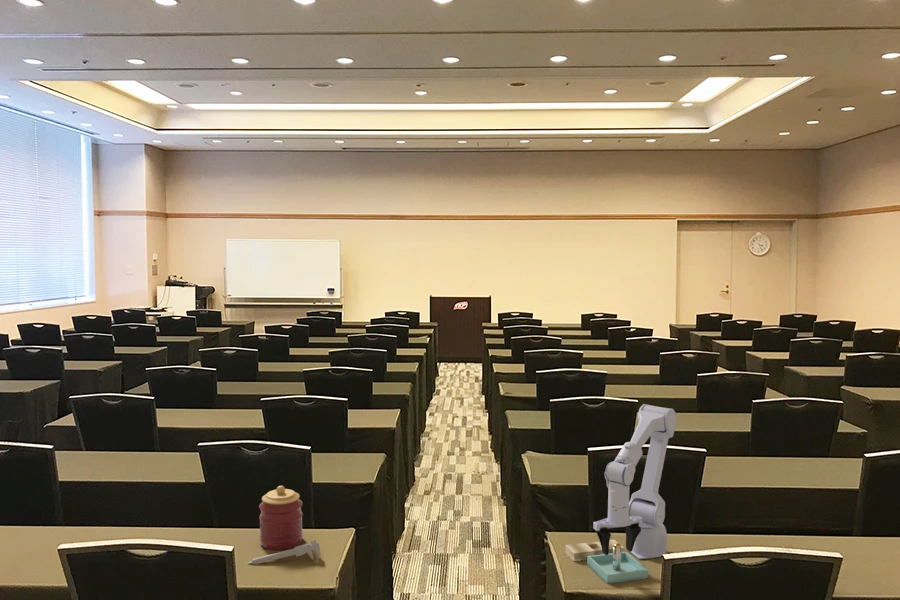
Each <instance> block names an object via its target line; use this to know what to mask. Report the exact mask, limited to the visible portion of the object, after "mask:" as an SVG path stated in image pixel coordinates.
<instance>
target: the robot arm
mask: <svg viewBox="0 0 900 600" xmlns="http://www.w3.org/2000/svg"><path fill="white" fill-rule="evenodd" d="M637 422H638V424H637V426H636V428H635V430H634V432H633V435H632V437H631V439H630V441H627V442H626V441H625V443H624V444H623V445H622V447H621V449H620V451H619V452H618V454H617V456H615V459H614V461H610V462H609V463H607V465H606V468H605V471H604V478H605V479H604V480H605V482H606V487H607V489H608V497H607V498H608V499H607V517H606V518H603V519H600V520H597V521H593V528H592V529H594V531H595V533H596V535H597V538H598V539H599V540H598V541H600V543H601V547H602V552H603V553H604V554H605V555H608V553H609V541H610V540H611V536H612V533H610V532H609V530H608V529H614V528H624V530H625V549H626V550H627V551H629V552H630V553H631V554H633V555H634V556H635V557H636V558H637V559H639V560H645V559H646V560H648V559H654V558H662V557H661V556H662V554H664V553H667V545H668V544H667V543H668V542H667V540H668V536H667V535H668V534H667V528H666V526H665V525H664V524H663V523H664V520H665V517H666V502H665V500H664V499H663V498H662V496H661V495H660V494H659V488H660V483H661V479H662V472H663V469H664V464H665V463H664V462H665V457H666V453H667V448H668V443H669V439H671V438H673V437H674V434H675V429H676V424H677V413H676V411H675V410H674V408H671V407H670V408H668V407H661V406H656V405H650V404H646V403H643V404H642V405H641V406H640V407H639V409H638V413H637ZM649 438H650V442H649V446H648V450H647V451H648V452H647V457H646V461H645V467H644V471H643V477H642V482H641V486H640V489H639V490H637V491H635V492H633V493H632V494H631V497H630V485H631V483H632V482H634V476H635V473H636V467H637V465H638V463H639V460H640V459H641V457H642V456H643V449H642V448H643V446H644V445H645V444H646V442H647V441H648V440H649ZM647 501H649V502H647Z"/></svg>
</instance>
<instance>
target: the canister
mask: <svg viewBox="0 0 900 600" xmlns="http://www.w3.org/2000/svg"><path fill="white" fill-rule="evenodd" d="M302 507H303V501H302V500H301V499H300V493H298V492H296V491H295V490H293V489H288V488H285V486H284V485H279V486H277V487H276V489H273V490H269V491H268V492H267V493H265V494H264V495H263V496H261V503H259V505H258V508H259V510H260V514H259V542H260V545H261V546H262V547H263V548H265V549H268V550H289V549H290V548H292V549H293V548H294V547H296V546H299V545H300V544H301V543H302V542H303V536H304V535H303V533H304V532H303V516H304V514H303V512H302V509H301V508H302Z"/></svg>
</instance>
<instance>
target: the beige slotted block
mask: <svg viewBox="0 0 900 600" xmlns="http://www.w3.org/2000/svg"><path fill="white" fill-rule="evenodd" d="M615 543H619V542H617V540H615V539H610V541H609V553H608V554H610V553H613V545H614V544H615ZM564 548H565V553H564V554H565V555H567V556H568V558H569V559H571V560H572V561H573V562H574V561H575V562H581V560H583V561H587V556H593V555H602V554H604V553H603V552H602V547H601V543H600V540H597V541H591V542H590V541H589V542H581V543H573V544H565V547H564ZM624 549H625V548H624V546H623V545H621V552H625V550H624Z"/></svg>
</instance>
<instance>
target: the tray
mask: <svg viewBox="0 0 900 600" xmlns="http://www.w3.org/2000/svg"><path fill="white" fill-rule="evenodd" d="M586 565H587V566H588V565H589V566H590V567H589V566H588V567H589V568H590V569H591V570H592V571H593V572H594V573H595V574H596V575H598V577H599V578H601V580H602V581H604V582H605V583H606V585H608V584H609V585H610V584H617V583H625V582H631V581H632V582H633V581H640V579H641V580H646V578H648V579H649V569H648V568H647V567H645V565H643V564H641V563H640V562H639V561H638V560H637V559H636V558H634V557H633V556H632V555H631V554H630V553H628V551H624V552H621V570H620V571H615V570H613V553H610V554H608V555H605V554H602V555H593V556H587V560H586Z"/></svg>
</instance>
